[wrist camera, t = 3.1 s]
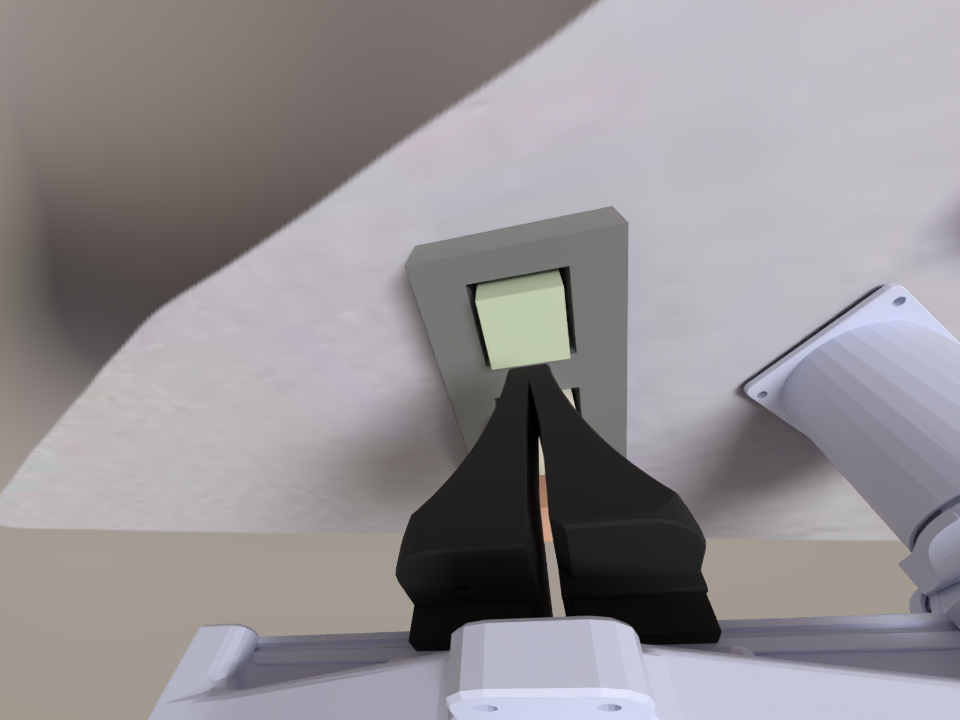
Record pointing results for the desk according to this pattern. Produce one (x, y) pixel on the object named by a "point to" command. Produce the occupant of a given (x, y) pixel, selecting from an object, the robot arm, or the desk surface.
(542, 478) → the terracotta button
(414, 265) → the button panel
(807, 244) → the desk surface
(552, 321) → the sage button
